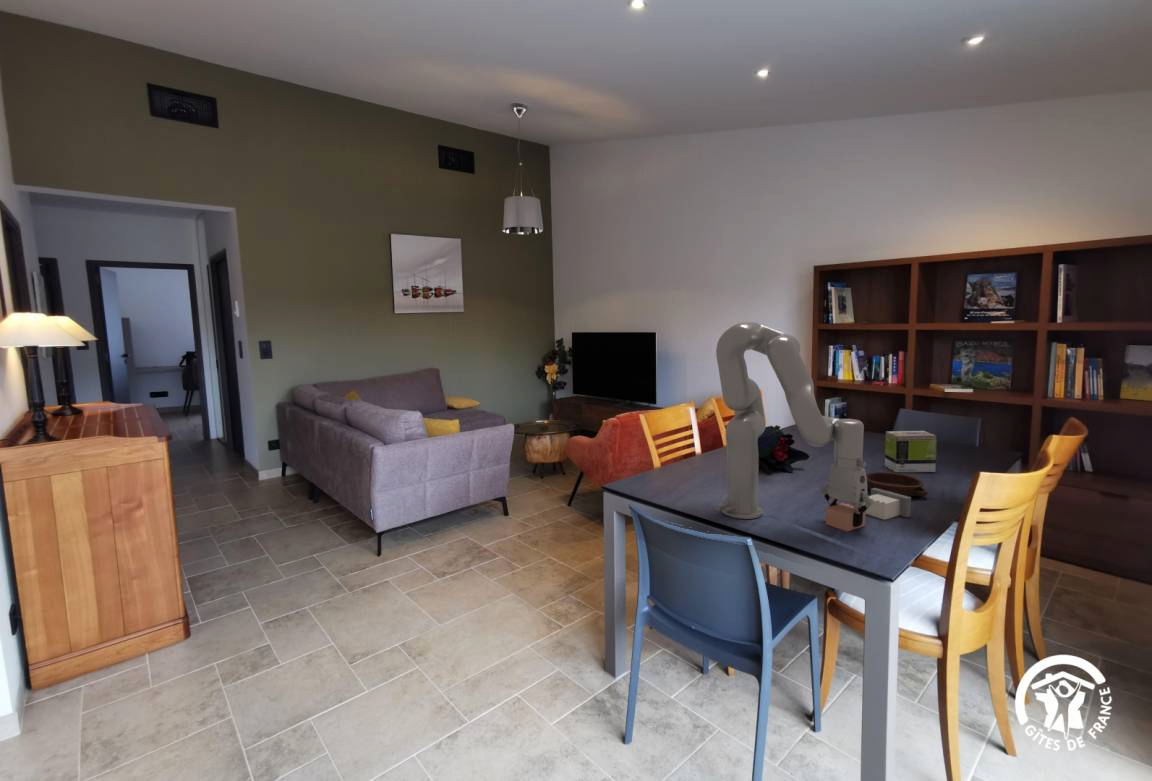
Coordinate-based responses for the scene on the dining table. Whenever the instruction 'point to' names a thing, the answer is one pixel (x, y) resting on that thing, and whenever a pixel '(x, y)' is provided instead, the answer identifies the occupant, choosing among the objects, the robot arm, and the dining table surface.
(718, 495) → the dining table surface
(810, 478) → the dining table surface
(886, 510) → the white block
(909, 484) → the dish
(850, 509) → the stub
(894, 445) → the tea box
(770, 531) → the dining table surface
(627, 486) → the dining table surface
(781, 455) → the decorative plant
